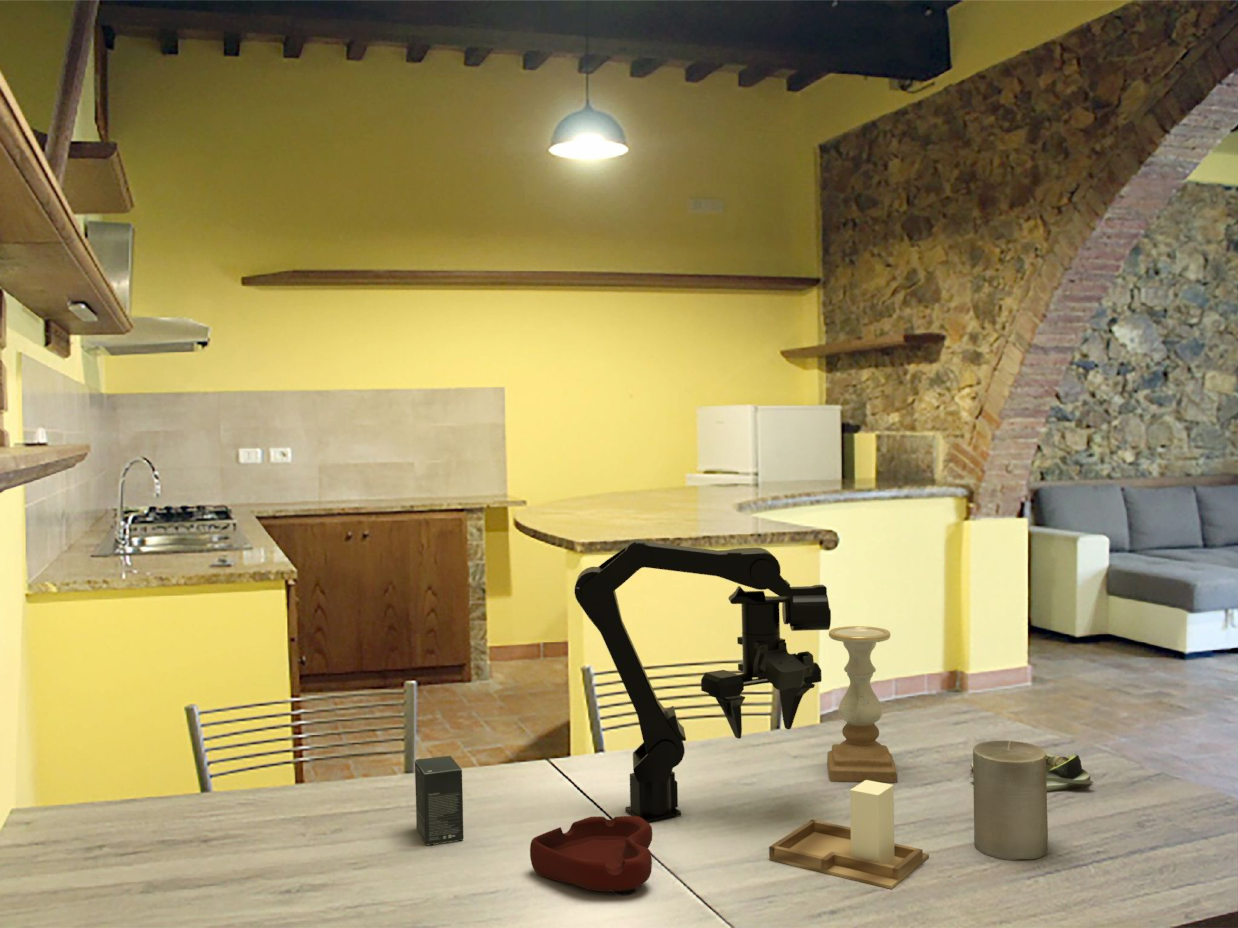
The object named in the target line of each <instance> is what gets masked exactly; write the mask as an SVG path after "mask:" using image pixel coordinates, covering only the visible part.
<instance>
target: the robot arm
mask: <svg viewBox="0 0 1238 928" xmlns="http://www.w3.org/2000/svg"><path fill="white" fill-rule="evenodd" d="M643 568H647V569H653V570H654V569H655V570H656V569H657V570H665V571H671V572H672V571H673V572H681V573H687V574H688V573H689V574H695V575H696V574H697V575H705V576H713V577H719V578H722V579H724V580H728V581H730V582H733V583H735V584H738V585H737V587H736V589H735V591H733V592H732V593H731V595H730V594H729V596H728V598H727V599H728V600H729V603H730V604H732V605H741V631H742V632H741V636H737V645H741V646H742V648H741V649H742V662H741V663H737V670H738V671H739V672H742V673H739V674H737V673H735V672H732V671H729V670H725V669H722V670H714V671H707V672H705V673H704V674H703V676H702V677H701V679H700V687H701V688H700V691H701V692H704V693H707V694H708V696H710V697H712V698H714V699H716V701H717V703H718V704H719V706H720V708H721V709H722V710H721V711H723V714H724V716H725V718H726V720H727V723H728V724H729V727H730V729H731V730H732V734H733V735H734V737H735V739H737V740H738V739H742V731H743V725H742V724H743V723H742V720H743V719H742V705H743V703H744V701H745V699H746V696H744V695H741V694H742V693H743V692H744V690H745V688H744V687H750V686H755V685H760V684H768V683H770V684H771V685H772V687H773V688H774V689H776V690H778V692H779V697H780V698H779V699H780V707H781V715H782V721H783V724H784V726H783V727H784V729H785V730H791V729H792V727H793V723H794V721H795V717H796V715H797V711H798V709H799V706H800V703H801V701H802V699H803V696H804V695H805V694H806V693H808V692H809V690H810V689H814V688H815V686H816V683H820V682H822V678H823V677H822V669H821V667H820V665H819V663H817V662H814V655H813V654H812V653H811V652H810V651H808V650H805V651H801V652H797V653H789V652H788V649H787V643H786V639H785V638H781V631H780V630H781V625H780V623H781V622H780V616H781V615H780V604H781V605H782V607H781V611H782V612H781V613H782V616H781V617H782V620H783V621H782V622H783V625H789V628H790V631H792V632H796V631H797V632H799V631H830V630H831V629H830V628H831V621H832V613H831V610H832V609H831V608H830V604H829V598H828V592H827V591H828V588H827V586H825V585H824V584H814V585H811V586H809V585H808V586H791V584H790V583H789V581H788V580H786V579H784V577H782V575H781V565H780V562H779V560H778V559H777V557H776V556H775V555H773V554H772V553H771V552H770V551H769V550H768V549H765V548H763V547H742V548H741V547H740V548H739V547H738V548H732V549H722V550H721V549H720V550H718V549H717V550H716V549H709V548H700V547H692V546H685V545H678V544H669V543H660V542H659V543H658V542H652V541H646V540H644V539H640V538H639V539H636V538H635V539H633V540H630V542H629V543H627V545H626V546H625V547H624V548H622V549H620V550H619V551H618V552H616V553H615V554H613V555H612V556H611V557H609V558H608V559H606V560H605V561H604V562H602V563H601V564H600V565H598V566H590V567H586V568H584V569H583V570H582V571H581V572H580V573H579V575H578V576H577V579H576V582H575V585H574V596H575V599H576V601H577V602H578V604H579V606H580V607H581V608H582V610H583V611H584V613H585V614H586V616H587V617H588V619H589V620H590V621H591V622H592V624H593V625H594V626H595V627H596V628H597V630H598V632H599V633H600V634H601V637H602V639H603V641H604V643H605V646H606V648H607V650H608V652H609V655H610V657H611V659H612V661H613V664H614V666H615V668H616V670H617V673H618V675H619V677H620V678H621V682H622V683H623V686H624V689H625V691H626V692H627V694H628V697H629V700H630V701H631V704H632V706H633V708H634V710H635V711H634V712H635V713H636V714H637V719H638V724H639V727H640V732H641V736H642V741H643V742H642V743H641V744H640V745H639V746H638V747H637V748H636V749H635V750H634V751H632V767H633V768H632V769H633V772H631V773H629V796H630V797H629V800H630V802H629V806H626V807H625V812H626V813H628V814H630V815H631V816H638V817H641V818H642V819H644V820H645V821H646V822H647V823H649V822H655V821H659V820H660V821H661V820H665V819H668V818H673V817H678V816H681V815H682V811H681V810H679V809H677V808H678V807H679V796H678V792H679V791H678V781H677V780H676V773H675V772H674V771H673V769H674V768H675V767H677V766H678V765H679V764H680V763H681V762H682V761H683V758H684V756H685V753H686V752H685V751H686V750H685V744H684V742H686V741H687V736H686V733H685V727H684V726H683V725H682V724H681V723H680V721H679V720H678V718H677V713H676V709H675V706H674V705H672V706H670V707H669V708H667V709H666V708H665V707H664V705H662V703H661V702H660V701H659V699H658V697H657V695H656V692H655V690H654V687H653V686H652V683H651V682H650V679H649V677H648V674H647V673H646V670H645V667H644V666H643V664H642V661H641V660H640V659H641V658H640V656H639V655H638V652H637V651H636V648H635V646H634V643H633V641H632V639H631V637H630V634H629V633H628V630H627V628H626V626H625V623H624V622H623V618H622V615H621V609H620V604H619V601H618V596H617V592H616V590H617V589H618V588H620V587H621V586H622V585H623V584H624V583H625V582H627V581H628V580H629V579H630V578H631V577H632V576H634V575H635V574H636V573H638V571H640V570H641V569H643ZM742 586H744V587H748V588H751V589H754V590H749V591H748V590H744V589H743V588H742ZM764 590H768V591H770V592H772V593H773V594H775V595H774V596H773V595H772V596H771V595H766V594H765V592H764Z"/></svg>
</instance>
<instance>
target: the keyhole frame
mask: <svg viewBox="0 0 1238 928" xmlns="http://www.w3.org/2000/svg"><path fill="white" fill-rule="evenodd" d="M768 853H769V858H768V859H769V860H770V861H773V862H777V863H781V864H787V865H789V866H794V867H799V868H803V869H806V870H809V871H815V872H819V873H823V874H828V875H832V876H836V877H839V878H840V877H841V878H844V879H848V880H851V881H857V882H860V883H864V884H869V885H873V886H876V887H881V888H885V889H889V890H892V889H893V888H895V887H896V886H897V885H898V884H899V883H901V882H902V881H903V880H904V879H905V878H906V877H909V875H910V874H911V873H912V872H914V871H915V870H916V869H917V868H918V867H920V866H921V865H922V864H923V863H924V862H926V861H927V860H928V859H929V858H930V854H928V853H924V851H923V849H922V848H919V847H918V848H917V847H913V846H908V845H903V844H899V843H895V842H894V856H895V858H894V859H893V860H892V861H890V862H889V863H888V864H884V863H880V862H875V861H871V860H867V859H862V858H858V857H853V856H851V826H850V827H849V826H846V825H845V826H844V825H839V824H835V823H830V822H827V821H826V822H825V821H821V820H815V819H810V820H809V821H807V822H806V823H804V824H802V825H801V826H799V827H798V828H796V829H795V830H793V831H792V832H790V833H789V834H787V835H785V836H784V837H782V838H781V839H779V840H777V841H776V842H774V843H772V844H771V845H770V846H768Z"/></svg>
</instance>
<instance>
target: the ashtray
mask: <svg viewBox="0 0 1238 928" xmlns="http://www.w3.org/2000/svg"><path fill="white" fill-rule="evenodd" d="M652 841H653V828H652V825H651V824H650V823H649V822H646V821H645V820H644V819H642V818H641V817H638V816H633V815H627V816H625V815H623V816H620V815H619V816H614V817H613V818H612V819H607V817H605V816H589V817H586V818H582V819H579V820H576V821H573V823H571V826H570V828H569V830H567V831H566V832H563V829H562V828H561V827H557V828H554V829H551V830H549V831H546V832H544V833H542V834H540V835H536V836H535V837H533V838H531V842H530V847H529V857H530V862H531V863H530V864H531V866H532V868H533V869H532V870H533V871H535V873H536V874H538V875H539V876H541V877H543V878H547V879H550V880H554V881H557V882H562V883H568V884H570V885H574V886H578V887H580V888H583V889H586V890H591V891H598V892H613V894H615V895H619V896H629V895H634V894H635V893H636V891H637V889H638V888H639V887H641V886H642V885H643V884H645V883H646V882H647V881H648V880H649V879H650V877H651V874H652V867H653V860H652V858H653V857H652V852H651V850H650V849H649V848H650V846H651V843H652Z"/></svg>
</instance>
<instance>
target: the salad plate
mask: <svg viewBox="0 0 1238 928" xmlns="http://www.w3.org/2000/svg"><path fill="white" fill-rule="evenodd" d="M970 767H971V769H972V770H973V761H972V762H971V763H970ZM970 778H972V779H973V772H970ZM1090 779H1091V774H1090V773H1089V772H1088V771H1087V770H1085V769H1084V768H1083V767H1082V760H1081V758H1080V755H1078V754H1073V755H1071V756H1068V757H1066V756H1059V755H1058V756H1057V755H1055V754H1049V753H1046V782H1047V792H1048V791H1049V792H1050V791H1067V790H1070V791H1071V790H1075V789H1081V788H1083V787H1085V786H1086V785H1089V784H1094V781H1093V780H1090Z"/></svg>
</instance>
